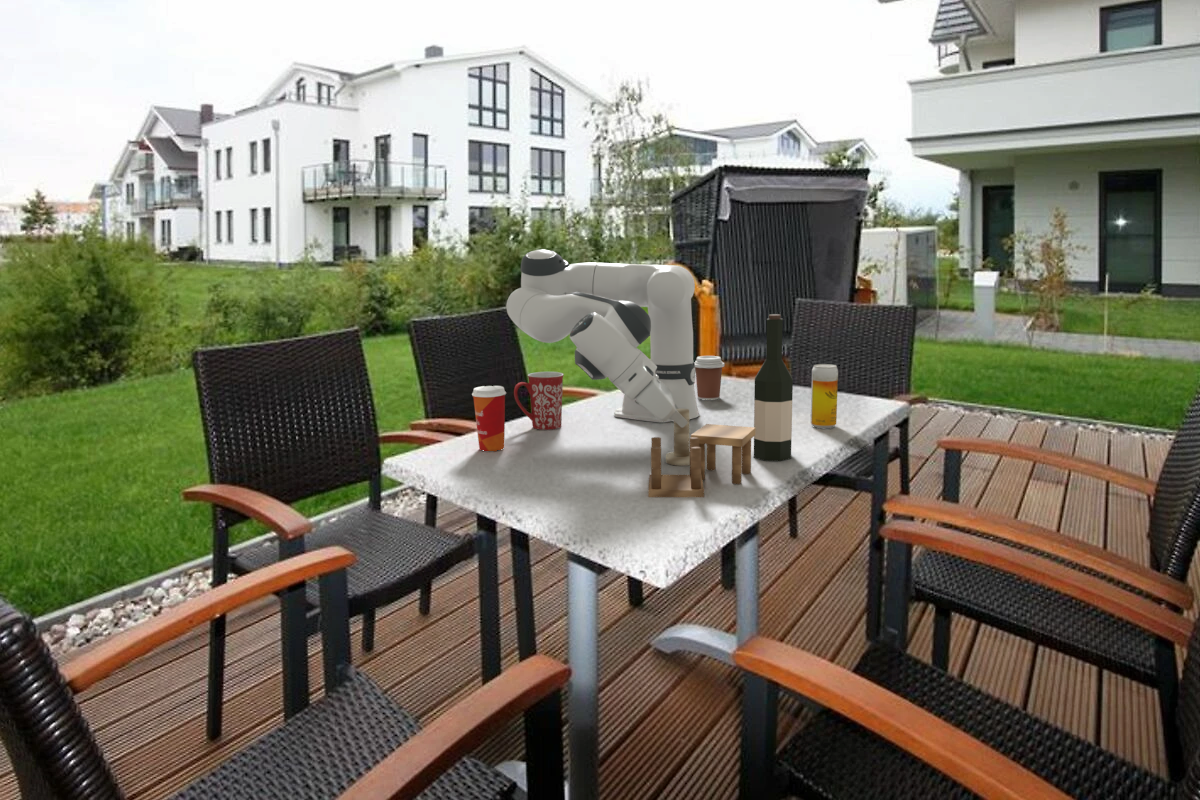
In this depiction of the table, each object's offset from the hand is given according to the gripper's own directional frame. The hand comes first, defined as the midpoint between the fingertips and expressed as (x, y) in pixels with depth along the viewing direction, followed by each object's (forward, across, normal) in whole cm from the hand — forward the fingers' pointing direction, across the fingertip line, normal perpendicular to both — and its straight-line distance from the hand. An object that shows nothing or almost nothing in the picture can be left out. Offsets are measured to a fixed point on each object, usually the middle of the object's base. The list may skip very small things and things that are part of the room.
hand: (684, 422), depth 168 cm
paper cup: (-24, -13, -36) cm, 46 cm away
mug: (-18, -34, -30) cm, 49 cm away
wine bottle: (+19, -4, +7) cm, 21 cm away
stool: (+11, +11, -1) cm, 15 cm away
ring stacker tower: (+6, 0, -6) cm, 8 cm away
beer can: (+31, -31, +19) cm, 48 cm away
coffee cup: (+14, -69, +2) cm, 70 cm away
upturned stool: (+4, +18, -8) cm, 21 cm away
